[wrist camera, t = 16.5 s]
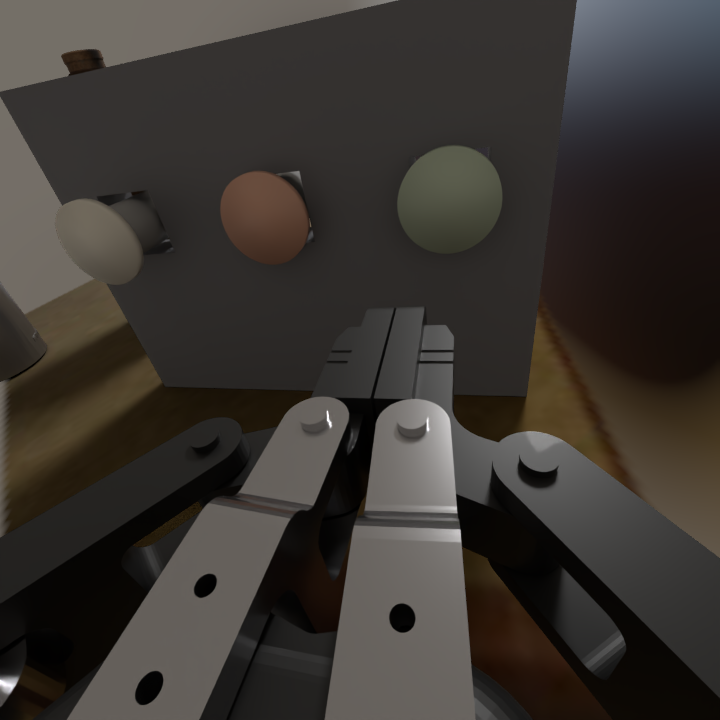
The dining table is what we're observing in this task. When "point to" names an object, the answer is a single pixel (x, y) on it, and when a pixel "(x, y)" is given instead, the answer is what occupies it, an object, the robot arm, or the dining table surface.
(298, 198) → the button terracotta
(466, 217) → the button sage
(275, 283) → the control panel
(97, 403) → the dining table surface
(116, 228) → the button cream
